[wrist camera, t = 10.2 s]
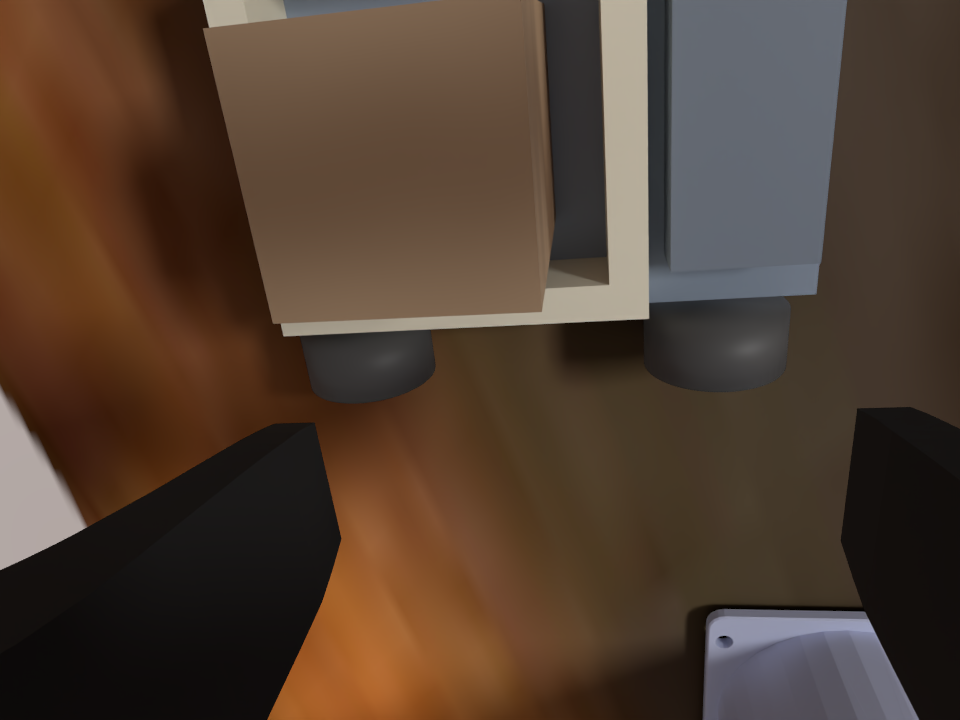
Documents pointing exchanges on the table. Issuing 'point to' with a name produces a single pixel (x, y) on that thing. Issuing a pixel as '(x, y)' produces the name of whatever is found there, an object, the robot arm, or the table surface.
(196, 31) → the table surface
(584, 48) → the toy truck
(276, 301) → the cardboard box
